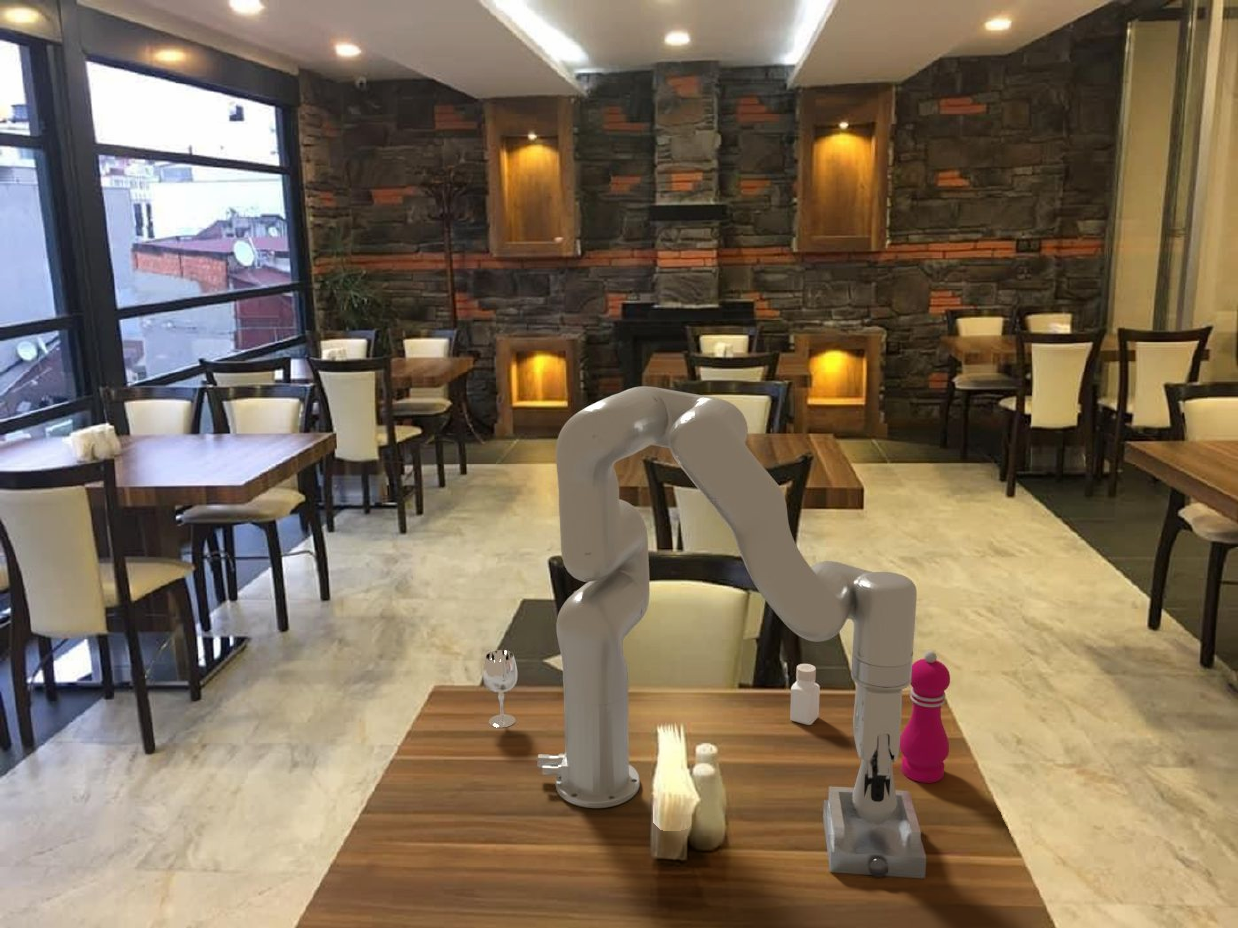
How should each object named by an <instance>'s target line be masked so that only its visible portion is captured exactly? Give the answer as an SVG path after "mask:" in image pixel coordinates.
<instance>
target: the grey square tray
mask: <svg viewBox="0 0 1238 928" xmlns="http://www.w3.org/2000/svg"><path fill="white" fill-rule="evenodd" d="M853 790H854V787H845V786H844V787H843V786H828V798H827V799H823V811H822V812H823V813H822V814H823V816H822V820H823V827H824V828H823V829H824V836H825V843H826V849H827V850H826V852H827V858H828V867H829V873H835V874H836V873H838V874H852V875H868V876H872V877H875V878H883V877H893V878H894V877H897V878H909V879H910V878H911V879H912V878H913V879H922V880H923V879H926V869H927V854H926V852H925V848H924V844H923V841H922V838H921V836H922V835H921V834H922V832H921V828H920V825H919V821H918V818H917V814H916V811H915V807H914V804H913V801H912V797H911V792H910V791H909V790H898V789H895V793H896V800H897V806H896V809H895V810H894V812H893V814H892V815H891V817H890V819H888V820H887V821H885V822H884V823H882V824H876V823H867V822H866V821H864V820H863V819H862V818H861V817H859V816H858V814H857V812H856V809H855V807H854V804H853V797H852V794H853Z"/></svg>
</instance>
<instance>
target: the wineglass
mask: <svg viewBox="0 0 1238 928" xmlns="http://www.w3.org/2000/svg"><path fill="white" fill-rule="evenodd" d="M483 662H484V663H483V669H482V678H483V683H484V685H485V687H486V688H487V689H488V690H489V691H491V692H494V693H498V696H497V699H498V702H499V707H500V708H499V710H500V711H499V714H496V715H494V716H492V717H490V719H489V721H488V723H489V725H490V726H492V727H494V728H500V729H501V728H507V727H510V726H513V724H514V723H516V718H515V717H514V716H513V715H511V714H507V713H506V714H505V713H504V699H505V694H504V693H506V692H509V691H511V690H512V689H513V688H514V687H515V686H516V684H517V681H518V666H517V663H516V658H515V656H514V653H513V652H511V651H509V650H505V649H497V650H493V651H490V652H488V653H486V655H485V657H484V661H483Z"/></svg>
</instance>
